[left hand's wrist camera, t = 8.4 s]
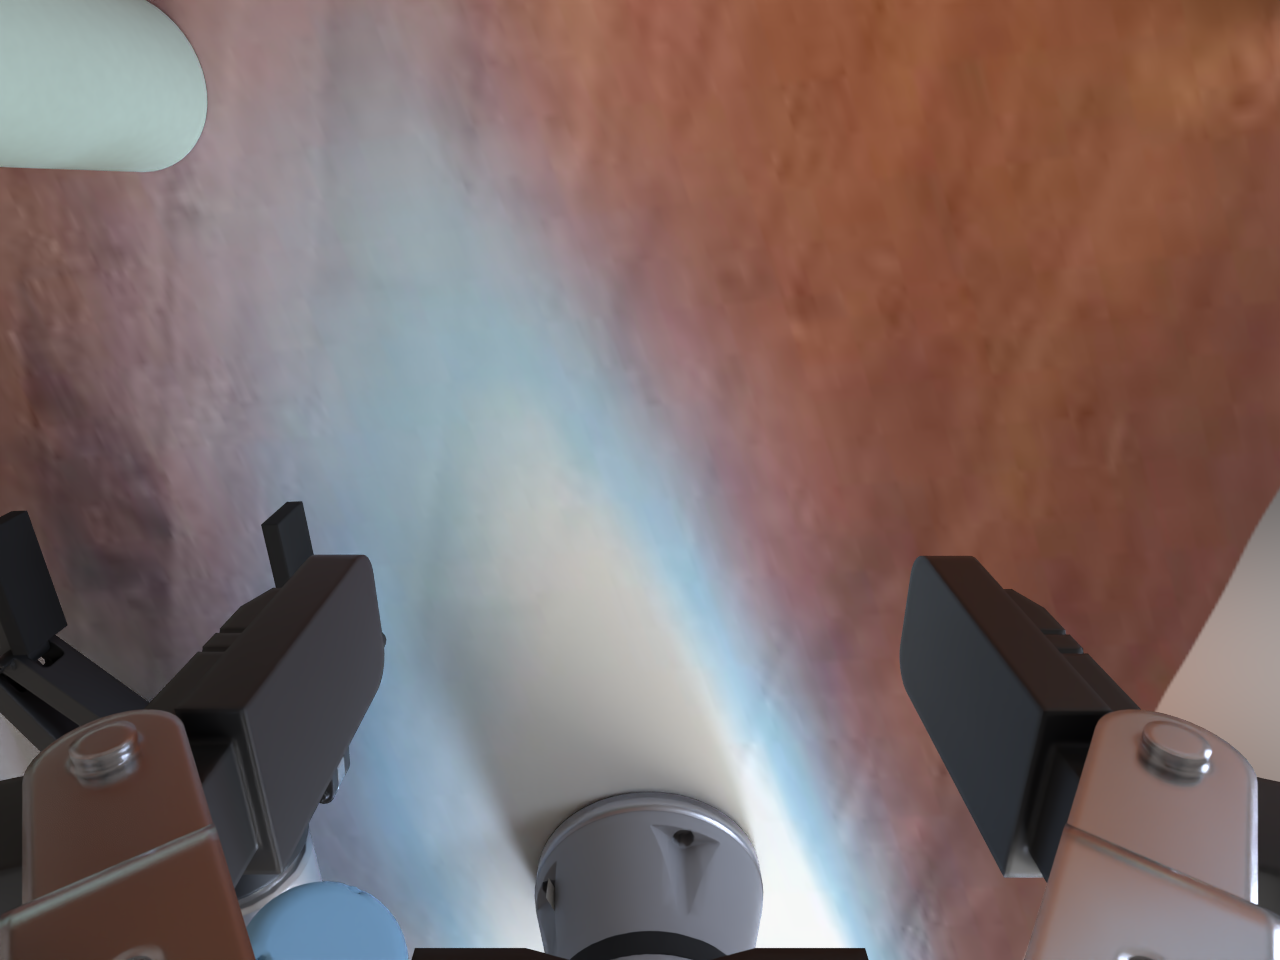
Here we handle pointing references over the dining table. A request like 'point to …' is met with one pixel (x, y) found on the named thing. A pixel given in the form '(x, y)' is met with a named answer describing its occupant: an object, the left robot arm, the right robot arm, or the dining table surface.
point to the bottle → (96, 86)
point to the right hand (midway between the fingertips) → (139, 516)
